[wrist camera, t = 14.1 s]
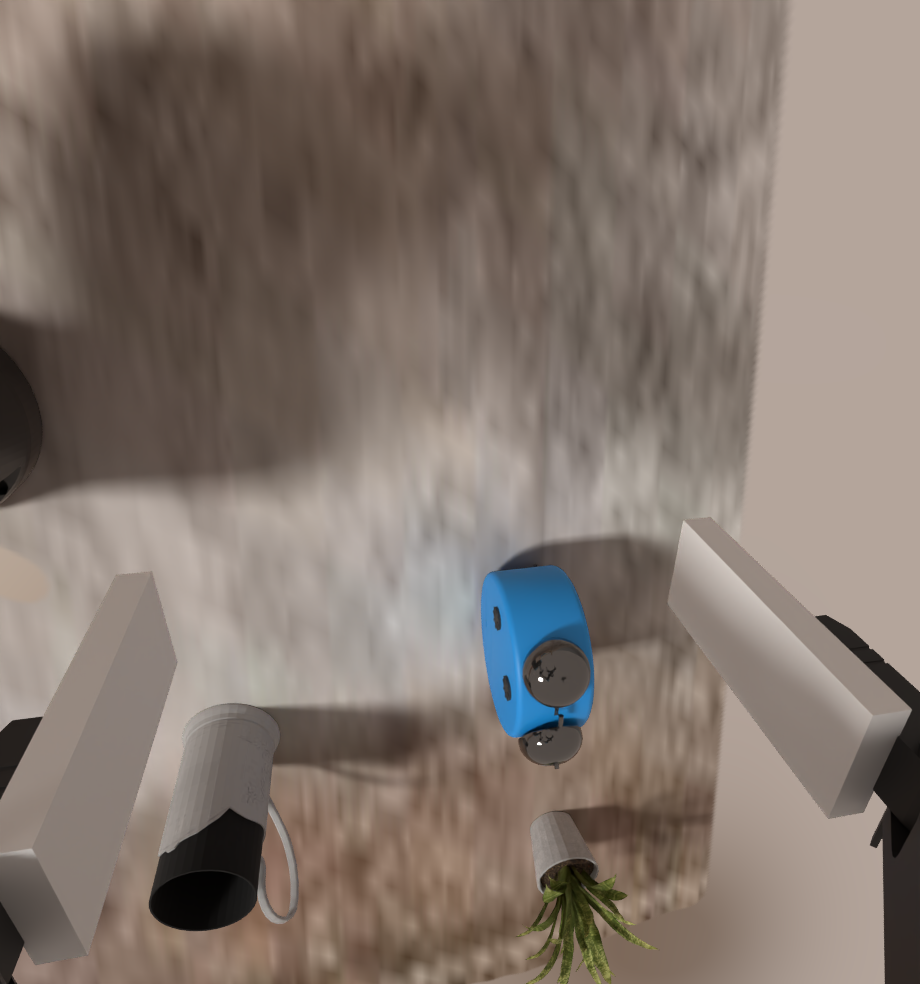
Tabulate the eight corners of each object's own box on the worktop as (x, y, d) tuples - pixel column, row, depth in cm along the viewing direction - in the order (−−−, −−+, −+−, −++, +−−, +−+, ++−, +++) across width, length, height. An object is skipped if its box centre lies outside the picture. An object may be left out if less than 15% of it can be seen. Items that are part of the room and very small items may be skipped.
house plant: (457, 839, 73) (488, 1005, 58) (542, 768, 69) (596, 926, 55) (539, 874, 79) (584, 1031, 65) (620, 810, 76) (687, 961, 61)
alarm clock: (539, 649, 61) (595, 783, 48) (476, 657, 60) (516, 796, 47) (547, 534, 55) (614, 652, 42) (477, 541, 54) (524, 664, 41)
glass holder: (234, 688, 56) (205, 848, 43) (335, 764, 63) (336, 922, 50) (160, 737, 58) (111, 907, 45) (267, 807, 64) (251, 972, 51)
